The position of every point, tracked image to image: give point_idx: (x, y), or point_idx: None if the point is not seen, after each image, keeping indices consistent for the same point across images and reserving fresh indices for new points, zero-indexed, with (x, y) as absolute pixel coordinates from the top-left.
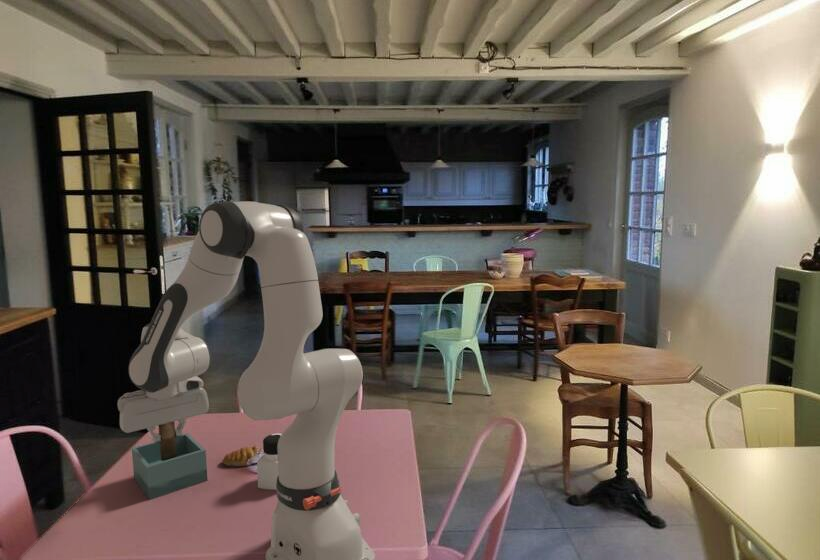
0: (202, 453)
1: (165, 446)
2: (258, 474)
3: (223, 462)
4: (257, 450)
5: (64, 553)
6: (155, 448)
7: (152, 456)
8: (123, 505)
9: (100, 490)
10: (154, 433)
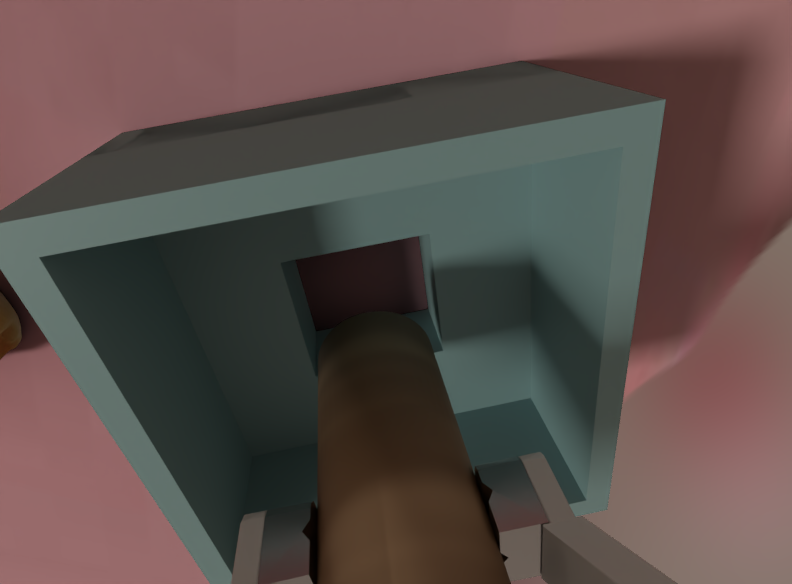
0: (33, 207)
1: (425, 405)
2: None
3: (11, 313)
4: None
5: None
6: None
7: None
8: (659, 77)
9: (677, 313)
10: (595, 561)
